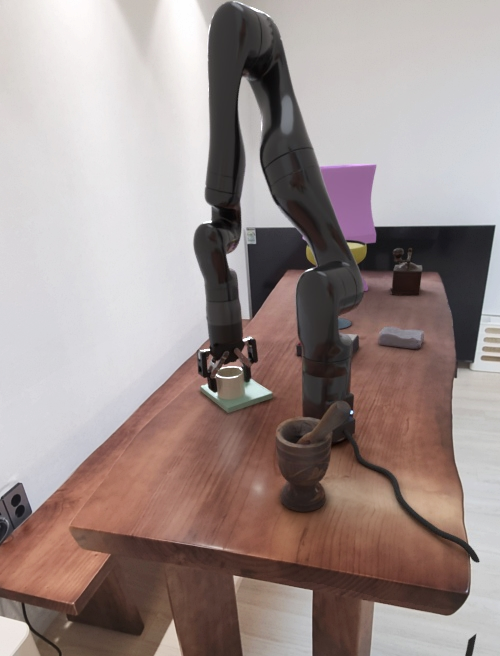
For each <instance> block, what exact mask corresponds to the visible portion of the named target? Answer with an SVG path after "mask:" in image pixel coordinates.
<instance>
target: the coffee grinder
mask: <svg viewBox="0 0 500 656" xmlns="http://www.w3.org/2000/svg"><path fill="white" fill-rule="evenodd" d="M407 250H408V252H407V258H406V259H403V258H402V257H403V255H404V254H405V252H404V251H405V250H404V249H403V248H401V247H397V248H395V249H393V250H392V255H393V257H394V258H393V261H394V263H398V264H395V265H394V268H393V270H392V281H391V287H390V289H389V291H390V294H391V295H392V296H401V297H406V296H407V297H419V296H420V290H421V284H422V283H421V282H422V273H423V265H422V264H421V265H420V264H416V263H413V262H411V258H412V255H413V254H412V253H413V248H412V247H409V248H408V249H407Z"/></svg>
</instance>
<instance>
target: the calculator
mask: <svg viewBox="0 0 500 656" xmlns="http://www.w3.org/2000/svg"><path fill="white" fill-rule="evenodd" d="M345 334H346V335H348V336H349V337H350V338H351V339H352V343H353V348H352V357H353V356H354V355H355V354H356V352H357V350H358V349H359V348H360V336H359V335H358V334H350V333H345ZM295 347H296V356H301V357H302V346H301V344H300V341H298V343H297V344H296V345H295Z"/></svg>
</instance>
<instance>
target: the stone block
mask: <svg viewBox="0 0 500 656" xmlns="http://www.w3.org/2000/svg"><path fill="white" fill-rule="evenodd" d="M424 339H425V331H423V330H421V329H413V328H412V329H411V328H410V329H409V328H408V329H402V328H398V327H394V326H389V325H388V326H387V325H386V326H385V327H383V328H382V329H381V330H380V331H379V334H378V344H379V345H380V346H385V347H393V348H394V347H395V348H403V349H409V350H419V349H420V348H421V347H422V344H423V342H424Z"/></svg>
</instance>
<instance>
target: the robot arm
mask: <svg viewBox="0 0 500 656" xmlns="http://www.w3.org/2000/svg"><path fill="white" fill-rule="evenodd" d="M242 79H245V80H246V81H247V82H248V85H249V87H250V89H251V91H252V94H253V97H254V99H255V102H256V105H257V108H258V110H259V115H260V132H259V133H260V134H259V145H258V146H259V147H258V157H259V158H258V159H259V165H260V168H261V172H262V175H263V177H264V180H265V183H266V186H267V189H268V191H269V194H270V197H271V199H272V201H273V203H274V204H275V206H276V207H277V209H278V211H280V213H281V214H282V215H283V216H284V217H285V219H286V220H287V221H288V222H289V223H290V225H292V226H293V227H294V228H295V229H296V230H297V231H298V232H299V233H300V235H301V236H302V238H303V237H304V238H305V240H304V241H305V242H306V244H307V245H309V247H310V249H311V251H312V254H313V256H314V259H315V262H316V265H317V267H316V265H315V266H314V267H311V268H309V269H306V270H304V271H303V272H302V273H301V274H300V276H299V277H298V279H297V282H296V285H295V291H294V304H295V306H294V307H295V318H296V319H295V320H296V331H297V332H296V334H297V338H298V342H300V344H301V346H302V356H301V398H302V399H301V403H302V404H301V405H302V406H301V407H302V408H301V409H302V411H301V412H302V416H301V417H310V418H315V419H319V420H321V419H322V417H323V416H324V414H325V413H326V412H327V410H328V409H329V408H330V406H331V405H332V404H334V403H335V402H337V401H345V402H347V403H348V404H349V406H350V407H351V413H350V415H349V417H348V418H347V420H345V421H344V422H343V423H342V424H341V425H339V426H338V427H337V428H335V429H334V430H333V431H332V442H331V447H332V446H334V445H336V444H339V443H341V442H344V441H346V440H348V441H349V443H350V444H351V447H352V448H353V453H354V457H355V458H356V460H357V461H358V462H359V463H360V464H361V465H362V466H364V467H366V468H368V469H370V470H372V471H376V472H379V473H381V474H383V475H385V476H386V477H387V479H389V480H390V481H391V483H392V485H393V491H394V495H395V497H396V499H397V501H398V503H399V504H400V506H401V507H402V508H403V509H404V510H405V511H406V512H407V513H408V514H409V515H410V516H411V517H412V518H413V519H414V520H416V521H417V522H418V523H419V524H421V525H422V526H423V527H425V528H426V529H428V530H429V531H430V532H432V533H433V534H435V535H436V536H438V537H440V538H443V539H445V540H447V541H450V542H451V543H455V544H457V545H458V546H460V547H461V548H462V549H463V550H464V551H466V553H467V554H468V556H469V557H470V559H471V560H472V561H473V562H474V563H478V564H479V563H480V562H481V561H480V558H479V556H478V554H477V552H476V551H475V550H474V548H472V546H471V545H470V544H469V543H468V542H467V541H465V540H464V539H462V538H460V537H458V536H456V535H453V534H451V533H449V532H446V531H444V530H442V529H440V528H438V527H437V526H436V525H434V524H432V522H430V521H429V520H427V519H425V518H424V517H423V516H422V515H421V514H419V513H418V512H417V511H416V510H415V509H414V508H413V507H411V506H410V505H409V504H408V502H407V501H406V500H405V498H404V497H403V495H402V492H401V489H400V488H401V487H400V485H399V482H398V479H397V477H396V476H395V475H394V474H393V473H392V472H391V471H390V470H388V469H387V468H384V467H382V466H379V465H376V464H374V463H373V464H372V463H370V462H368V461H367V460H366V459H364V458H363V457H362V456H361V453H360V448H359V446H358V443H357V441H356V440H355V438H354V437H353V435H355V433H356V418H354V403H355V395H354V393H352V392H351V387H352V386H351V385H352V367H353V366H352V363H353V356H352V348H353V343H352V339H351V338H350V337H349V336H348V335H346V334H347V333H344V332H341V331H340V329H339V328H338V318H339V317H341V316H343V315H345V314H348V313H350V312H352V311H355V310H356V309H357V308H358V307H359V306H360V305H361V303H362V301H363V299H364V295H365V293H364V292H365V291H364V285H363V279H362V277H363V275H362V273H361V270H360V267H359V265H358V264H357V263H356V261H355V259H354V257H353V255H352V252H351V250H350V248H349V246H348V244H347V241H346V239H345V237H344V235H343V232H342V230H341V228H340V225H339V223H338V220H337V217H336V214H335V211H334V208H333V206H332V203H331V200H330V197H329V195H328V192H327V189H326V186H325V183H324V180H323V176H322V173H321V169H320V164H319V161H318V158H317V154H316V152H315V149H314V146H313V143H312V140H311V138H310V135H309V133H308V130H307V126H306V123H305V120H304V117H303V114H302V111H301V108H300V105H299V102H298V100H297V96H296V94H295V89H294V86H293V82H292V76H291V73H290V69H289V64H288V60H287V56H286V50H285V46H284V44H283V38H282V36H281V32H280V29H279V27H278V26H277V23H276V22H275V20H274V19H273V18H272V17H271V16H270V15H268V14H267V13H265V12H263V11H261V10H258V9H256V8H254V7H251V6H250V5H247V4H244V3H243V2H239V1H235V0H228V1H226V2H224V3H222V4H220V6H218V7H217V8H216V10H215V11H214V13H213V15H212V18H211V20H210V24H209V28H208V35H207V85H208V87H207V89H208V92H207V93H208V95H207V97H208V125H209V126H208V127H209V128H208V129H209V130H208V131H209V136H208V138H209V139H208V140H209V141H208V155H207V164H206V173H205V181H204V192H203V193H204V200H205V202H206V204H208V205H209V206H210V207H211V208H210V211H211V215H210V216H211V217H210V220H208V221H205V222H202V223H200V224H199V225H198V226H197V227H196V228H195V230H194V232H193V233H194V234H193V241H192V246H193V252H194V256H195V259H196V262H197V265H198V267H199V268H198V269H199V271H200V273H201V277H202V278H203V285H204V294H205V315H206V316H205V318H206V325H207V333H208V342H209V347H208V348H207V349H201V348H198V349H197V350H196V361H197V362H196V363H197V374H198V375H199V376H201V378H203V379H206V381H207V384H208V388H209V389H210V390H211V391H212V392H214V393H216V392H217V391H218V390H217V381H216V374H217V372H218V370H220V369H221V368H223V365H224V366H226V365H228V364H230V363H236V362H237V361H239V362H240V363H241V364H242V365H241V367H242V369H243V372H244V381H245V382H246V383H247V382H250V379H252V368H251V367H252V366H253V364H257V363H258V362H259V356H258V348H257V347H258V346H257V339H255V338H254V337H252V336H250V335H247V336H246V337H245V338H244V329H243V316H242V305H241V300H240V291H239V290H240V289H239V279H238V274H237V272H236V270H234V268H231V267H229V263H228V258H227V255H229V254H232V253H233V252H234V251H235V250H236V249H237V247H238V246H239V244H240V241H241V237H242V229H243V228H242V227H243V225H242V223H243V221H242V206H241V205H242V204H241V200H242V196H243V195H242V194H243V189H244V183H245V182H244V181H245V175H246V166H247V155H246V148H245V141H244V137H243V133H242V132H243V131H242V127H241V122H240V111H239V97H240V96H239V95H240V89H241V83H242ZM361 275H362V276H361ZM245 347H246V352H247V357H246V356H245V354H243V350H244V348H245ZM210 356H211V358H210ZM209 358H210V360H209ZM208 360H209V362H208ZM476 639H477V633H475V634H474V635H472V636H471V637H470V638H469V639H468V640H467V645H466V650H465V654H464V656H473V653H474V649H475V645H476Z"/></svg>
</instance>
